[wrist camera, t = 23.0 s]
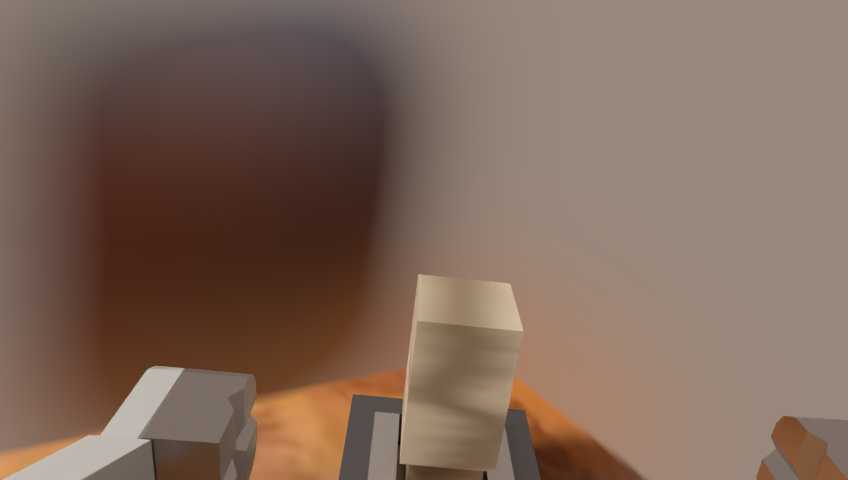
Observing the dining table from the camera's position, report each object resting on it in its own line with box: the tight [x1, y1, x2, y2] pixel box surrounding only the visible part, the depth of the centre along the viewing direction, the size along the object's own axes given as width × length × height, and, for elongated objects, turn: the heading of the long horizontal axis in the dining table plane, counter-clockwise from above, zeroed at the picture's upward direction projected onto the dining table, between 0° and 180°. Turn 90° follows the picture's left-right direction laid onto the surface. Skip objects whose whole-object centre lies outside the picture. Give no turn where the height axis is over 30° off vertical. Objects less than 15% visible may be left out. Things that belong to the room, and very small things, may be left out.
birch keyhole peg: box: [396, 274, 523, 480], centre depth 34 cm, size 6×6×14 cm
